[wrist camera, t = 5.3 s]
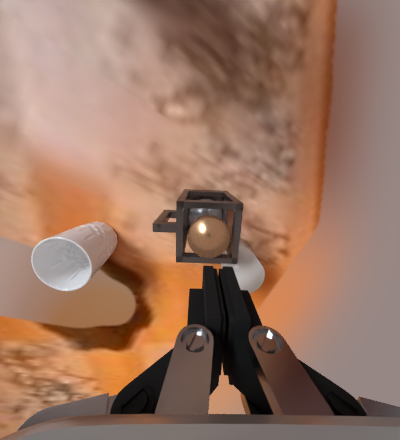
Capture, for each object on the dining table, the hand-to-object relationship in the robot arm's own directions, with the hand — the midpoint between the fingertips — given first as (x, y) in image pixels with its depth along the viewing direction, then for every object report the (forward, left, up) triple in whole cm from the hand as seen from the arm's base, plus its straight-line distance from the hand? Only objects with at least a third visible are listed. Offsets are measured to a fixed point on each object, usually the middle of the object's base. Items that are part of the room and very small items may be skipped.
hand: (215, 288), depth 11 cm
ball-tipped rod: (0, 0, -20) cm, 20 cm away
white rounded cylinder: (+8, +6, -23) cm, 26 cm away
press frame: (0, -1, -23) cm, 23 cm away
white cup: (+6, -19, -24) cm, 31 cm away
